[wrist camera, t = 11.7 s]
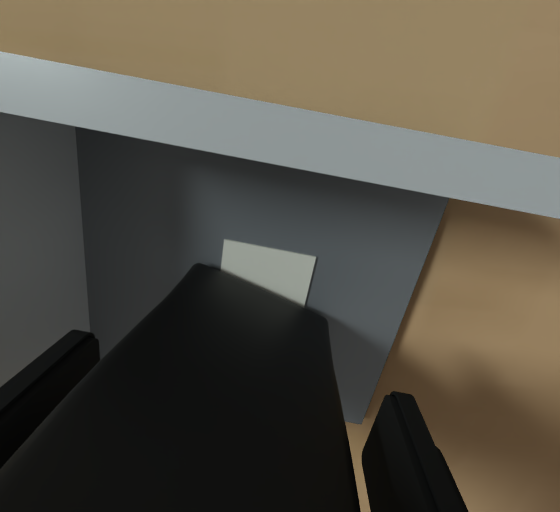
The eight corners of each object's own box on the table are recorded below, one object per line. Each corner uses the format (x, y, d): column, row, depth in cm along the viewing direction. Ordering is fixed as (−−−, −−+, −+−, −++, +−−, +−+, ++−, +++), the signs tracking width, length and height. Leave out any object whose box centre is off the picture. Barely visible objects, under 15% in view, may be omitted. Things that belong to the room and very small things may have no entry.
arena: (359, 415, 16) (385, 540, 11) (79, 360, 17) (-24, 460, 11) (458, 154, 11) (589, 163, 6) (52, 77, 11) (-158, 21, 6)
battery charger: (168, 320, 14) (-228, 842, 4) (193, 254, 13) (-324, 773, 2) (298, 374, 15) (287, 958, 4) (334, 316, 14) (453, 961, 3)
